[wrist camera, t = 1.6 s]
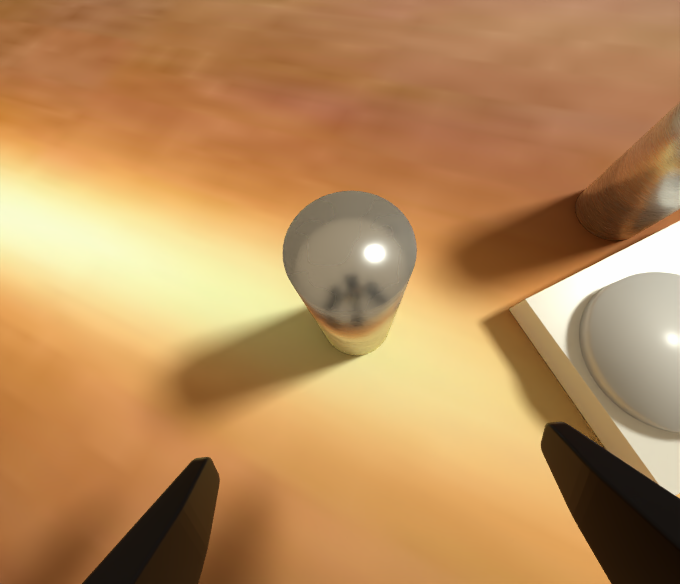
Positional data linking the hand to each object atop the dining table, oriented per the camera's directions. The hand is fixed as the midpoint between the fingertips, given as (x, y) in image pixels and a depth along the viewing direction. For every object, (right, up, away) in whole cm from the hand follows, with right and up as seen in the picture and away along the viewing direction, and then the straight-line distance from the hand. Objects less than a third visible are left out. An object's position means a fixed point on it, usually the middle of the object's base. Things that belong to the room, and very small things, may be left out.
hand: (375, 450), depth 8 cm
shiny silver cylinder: (0, +2, +14) cm, 14 cm away
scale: (+20, +1, +12) cm, 23 cm away
